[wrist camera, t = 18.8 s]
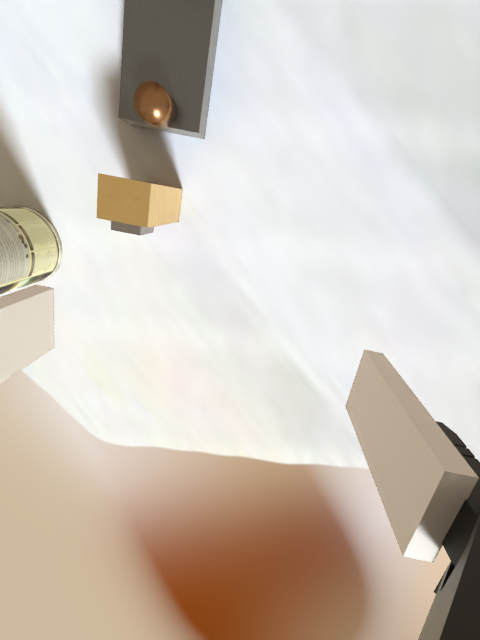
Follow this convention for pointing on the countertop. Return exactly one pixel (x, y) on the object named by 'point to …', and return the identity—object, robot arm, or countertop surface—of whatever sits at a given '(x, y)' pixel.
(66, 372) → the countertop surface
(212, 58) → the hand plane
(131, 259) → the countertop surface
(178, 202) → the lever cap
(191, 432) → the countertop surface
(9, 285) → the coffee can
